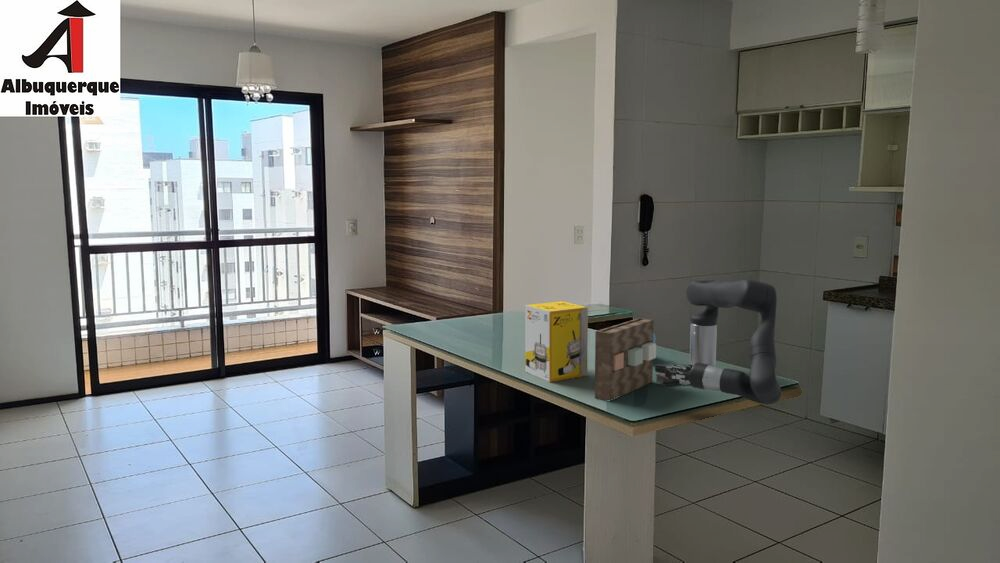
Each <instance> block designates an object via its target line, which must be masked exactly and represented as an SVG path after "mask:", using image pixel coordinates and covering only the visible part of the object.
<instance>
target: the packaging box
mask: <svg viewBox="0 0 1000 563" xmlns="http://www.w3.org/2000/svg"><path fill="white" fill-rule="evenodd" d="M588 313H589V308H588V306H584V305H580V304H575V303H571V302H568V301H565V300H560V301H559V300H558V301H551V302H541V303H533V304H532V303H531V304H530V303H529V304H525V305H524V353H525V354H524V357H525V358H524V362H525V363H524V364H525V366H524V367H525V368H524V369H525V373H527V372H528V373H527V374H529V373H530V375H531V376H533V377H537V378H538V379H541V380H543V381H546V382H548V383H553V382H558V381H559V382H560V381H563V380H564V379H565V380H570V379H569V378H571V379H575V377H577V378H581V377H587V376H588V343H589V342H588V340H589V338H588V337H589V335H588V330H589V328H588V326H589V325H588V323H589V322H588V320H589V318H588V317H589V315H588Z"/></svg>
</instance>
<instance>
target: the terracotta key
mask: <svg viewBox="0 0 1000 563" xmlns="http://www.w3.org/2000/svg"><path fill="white" fill-rule="evenodd" d="M623 367H624V353H623V352H618V353H615V354H613V371H617V370H619V369H622V368H623Z"/></svg>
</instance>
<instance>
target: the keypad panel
mask: <svg viewBox="0 0 1000 563" xmlns="http://www.w3.org/2000/svg"><path fill="white" fill-rule="evenodd" d="M654 324H655V323H654V319H651V318H650V319H649V318H642V317H638V318H635V319H631V320H629V321H625V322H622V323H618V324H614V325H612V326H608V327H606V328H602V329H598V330H595V338H594V339H595V340H594V343H595V344H594V346H595V347H594V349H595V350H594V351H595V352H594V353H595V355H594V356H595V357H594V358H595V359H594V364H595V365H594V399H596V398H599V399H598V400H601V399H605V400H611V399H614V398H616V397H618V396H620V397H622V396H621V395H623V394H625V393H627V394H629V393H631V392H633V391H632V390H634V391H636V390H637V389H640V388H642V387H644V386H646V385H649V384H650V383H653V366H654V365H653V364H654V363H653V361H654V359H652V360H649V361H647V360H643V363H642V364H640V365H637V366H631V365H628V349H629V348H632V347H637V348H642V344H643V343H646V342H650V343H653V333H654ZM618 352H623V353H624V367H623V368H622V369H619V370H617V371H613V354H615V353H618ZM635 389H636V390H635ZM630 391H631V392H630ZM628 392H629V393H628ZM625 395H626V394H625ZM623 396H624V395H623ZM618 398H619V397H618ZM616 399H617V398H616ZM605 400H604V401H605ZM614 400H615V399H614Z"/></svg>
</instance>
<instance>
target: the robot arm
mask: <svg viewBox="0 0 1000 563" xmlns="http://www.w3.org/2000/svg"><path fill="white" fill-rule="evenodd" d="M685 293H686V294H685V295H686V298H687V300H688V302H689V303H690V304H691V305H693V306H695V307H697V306H699V307H701V306H705V307H704V308H703V309H702V310H700V311H699V312H696V313H693V314H692V315H691V317H690V334H689V335H690V336H689V337H690V338H689V339H690V342H689V364H675V363H674V364H673V365H671V364H669V365H664V364H660V363H658V364H656V365H655V367H654V371H655V372H656V373H658V374H665V377H667V378H668V379H670V380H672V381H676V379H680V380H681V381H687V380H688V381H689V382H690V384H689V385H690V386H691V387H692V388H694V389H699V390H705V391H710V392H715V393H723V394H724V393H725V394H730V395H736V396H739V397H742V398H744V399H746V400H749V401H751V402H754V403H757V404H761V405H773V404H776V403H777V402H779V401H780V400H781V398H782V394H783V393H782V388H781V387H780V384H779V382H778V380H777V376H776V371H775V370H776V367H777V355H776V346H775V345H776V343H775V331H776V330H775V328H776V321H777V320H776V318H777V317H776V316H777V300H778V299H777V291H776V288H775V287H774V285H772V284H769V283H766V282H761V281H759V280H753V279H747V278H746V279H741V280H737V281H736V280H735V281H734V280H729V279H727V280H714V279H702V280H701V279H698V280H693V281H690V282H689V284H688V285H687V287H686V292H685ZM735 307H738V308H740V309H743V310H747V311H751V312H754V313H759V314H760V316H761V321H760V324H759V325H758V327H757V329H756V330H755V331H754V333H753V334H752V336H751V337H750V341H749V344H748V348H749V362H750V367H749V368H750V369H749V375H747V374H746V373H745V372H744V371H741V370H739V369H732V368H726V367H722V366H719V365H716V364H717V363H716V362H717V361H716V360H717V334H718V333H717V330H718V329H717V327H718V325H717V324H718V319H719V308H722V309H733V308H735Z"/></svg>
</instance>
